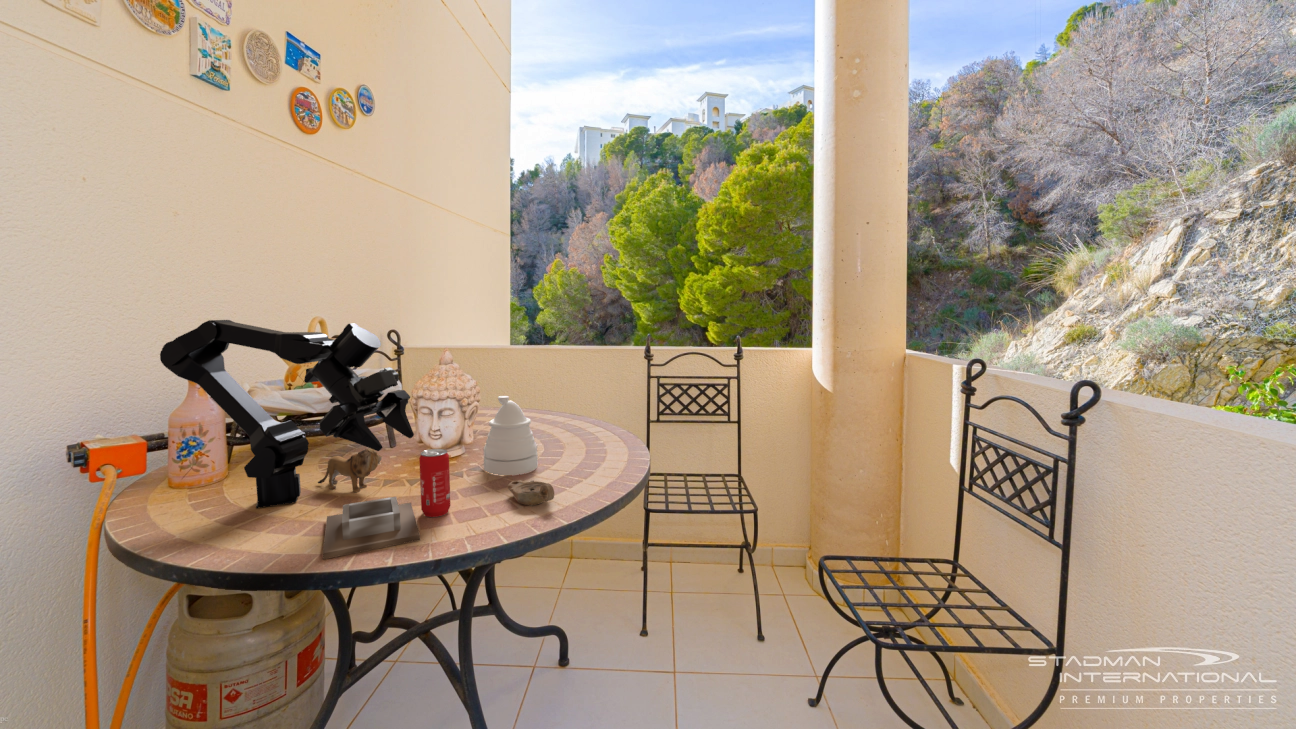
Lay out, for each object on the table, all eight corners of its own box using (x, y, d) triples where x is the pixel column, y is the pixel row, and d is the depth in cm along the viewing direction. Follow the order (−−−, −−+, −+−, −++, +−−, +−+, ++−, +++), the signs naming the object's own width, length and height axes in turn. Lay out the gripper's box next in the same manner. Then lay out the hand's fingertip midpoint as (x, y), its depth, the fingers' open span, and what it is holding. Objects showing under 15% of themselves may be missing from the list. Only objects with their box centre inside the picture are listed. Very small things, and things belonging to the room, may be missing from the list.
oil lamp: (499, 498, 107) (498, 475, 106) (529, 489, 112) (529, 467, 111) (535, 516, 98) (535, 491, 97) (566, 505, 103) (566, 481, 102)
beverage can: (440, 519, 95) (438, 457, 94) (415, 516, 96) (413, 455, 95) (456, 508, 100) (454, 449, 99) (432, 506, 101) (430, 447, 100)
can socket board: (322, 559, 80) (321, 535, 80) (327, 521, 94) (326, 500, 93) (420, 540, 87) (419, 517, 87) (411, 507, 101) (410, 487, 100)
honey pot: (508, 479, 118) (507, 402, 116) (472, 469, 125) (470, 396, 122) (548, 465, 128) (547, 394, 126) (512, 456, 135) (511, 389, 133)
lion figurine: (387, 485, 113) (385, 445, 112) (371, 494, 108) (369, 452, 107) (326, 481, 115) (324, 442, 114) (308, 490, 109) (305, 449, 108)
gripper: (329, 360, 88) (389, 426, 87) (400, 351, 106) (450, 405, 106) (293, 403, 90) (351, 468, 90) (368, 387, 109) (417, 440, 108)
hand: (397, 442), depth 98 cm, fingers open, 9 cm apart
